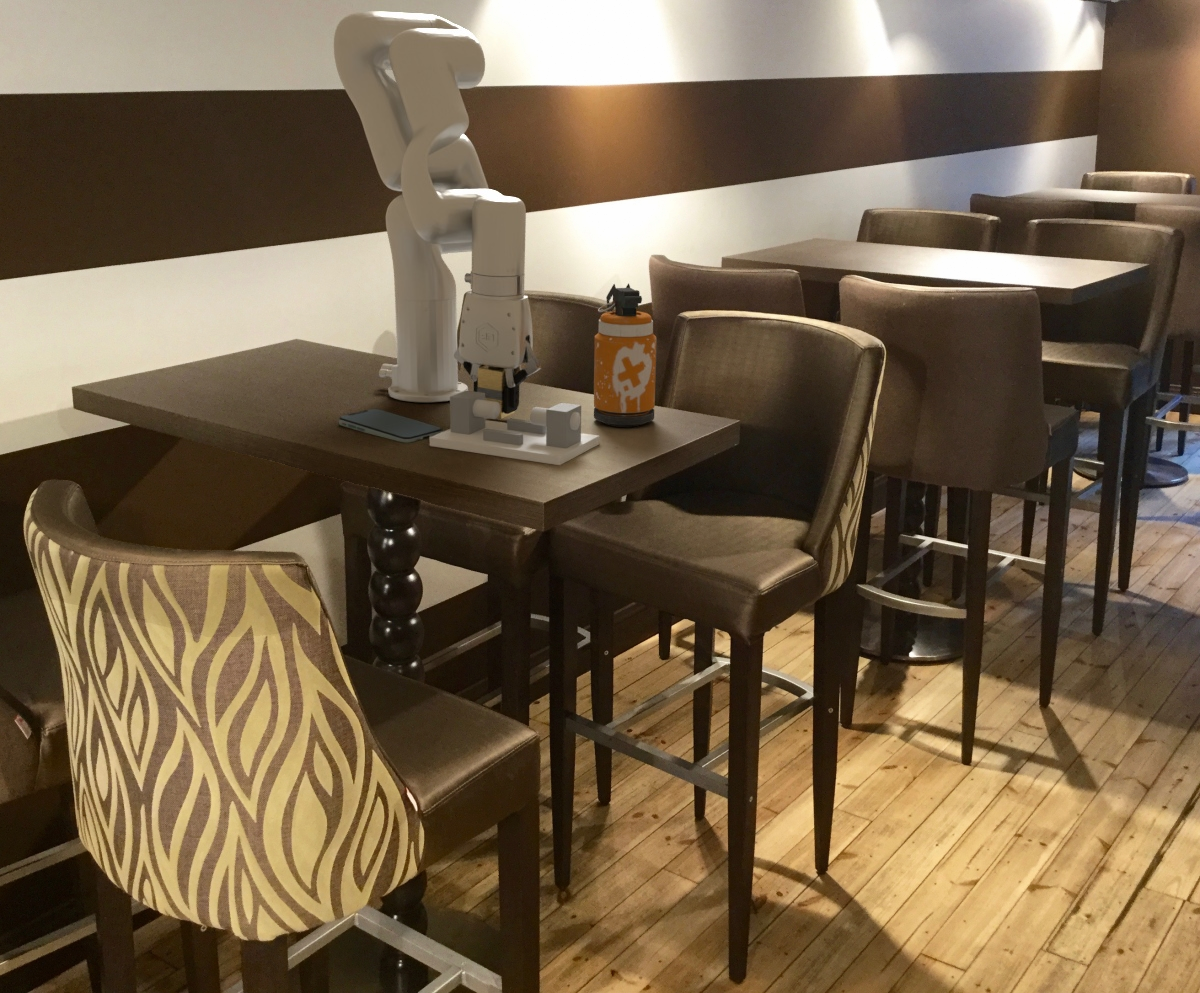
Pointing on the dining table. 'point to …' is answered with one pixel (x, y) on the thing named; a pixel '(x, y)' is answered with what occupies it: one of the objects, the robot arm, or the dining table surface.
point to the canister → (624, 362)
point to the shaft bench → (515, 431)
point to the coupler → (493, 385)
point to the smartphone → (389, 425)
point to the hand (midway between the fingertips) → (496, 407)
